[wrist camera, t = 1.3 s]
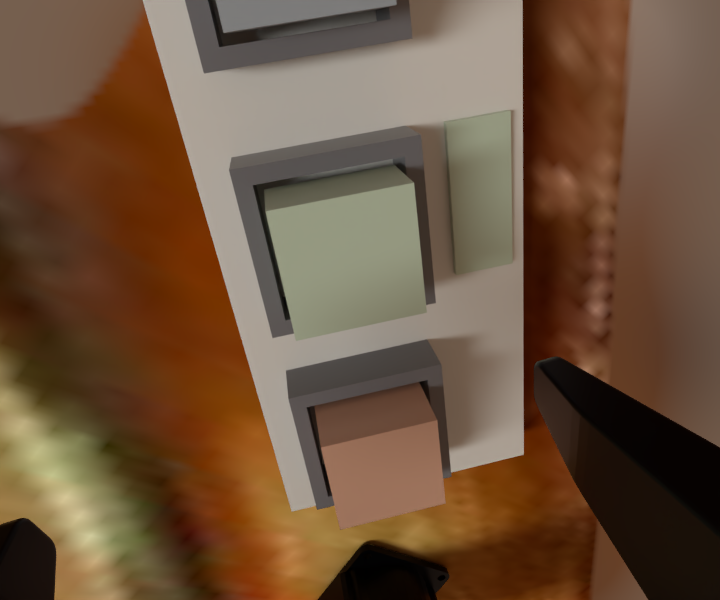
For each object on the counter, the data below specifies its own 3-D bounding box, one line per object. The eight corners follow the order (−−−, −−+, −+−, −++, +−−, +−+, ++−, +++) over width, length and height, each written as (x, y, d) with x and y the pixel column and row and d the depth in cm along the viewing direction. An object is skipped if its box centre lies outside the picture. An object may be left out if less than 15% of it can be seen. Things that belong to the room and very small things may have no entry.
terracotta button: (428, 460, 24) (445, 503, 22) (332, 483, 24) (340, 529, 21) (418, 381, 22) (437, 420, 20) (314, 405, 22) (320, 447, 19)
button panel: (507, 429, 29) (542, 483, 25) (289, 481, 28) (294, 546, 24) (492, -282, 16) (559, -372, 12) (86, -236, 15) (33, -321, 11)
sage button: (407, 282, 20) (426, 312, 18) (291, 306, 19) (296, 340, 17) (394, 164, 18) (414, 182, 16) (264, 189, 17) (265, 211, 15)
